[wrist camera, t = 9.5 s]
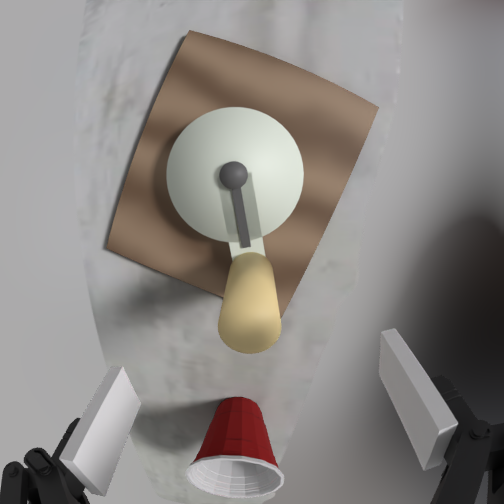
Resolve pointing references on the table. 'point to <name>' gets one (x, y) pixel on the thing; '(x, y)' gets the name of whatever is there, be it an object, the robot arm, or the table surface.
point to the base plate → (257, 98)
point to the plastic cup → (236, 454)
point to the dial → (239, 209)
